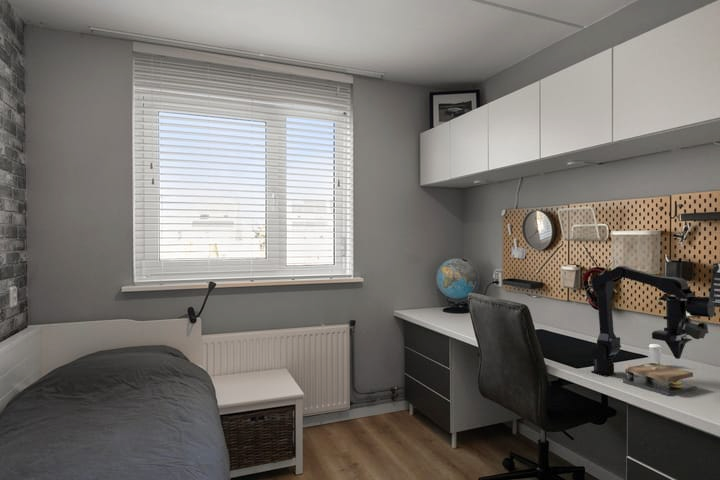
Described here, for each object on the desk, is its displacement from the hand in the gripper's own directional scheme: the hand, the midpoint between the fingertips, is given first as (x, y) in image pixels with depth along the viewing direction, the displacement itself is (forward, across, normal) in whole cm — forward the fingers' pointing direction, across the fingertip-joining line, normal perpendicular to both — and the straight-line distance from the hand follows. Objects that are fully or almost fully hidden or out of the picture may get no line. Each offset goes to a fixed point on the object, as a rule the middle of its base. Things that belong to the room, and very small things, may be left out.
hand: (677, 358), depth 151 cm
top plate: (+8, 0, +7) cm, 10 cm away
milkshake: (+12, +26, +24) cm, 37 cm away
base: (+11, 0, +7) cm, 13 cm away
